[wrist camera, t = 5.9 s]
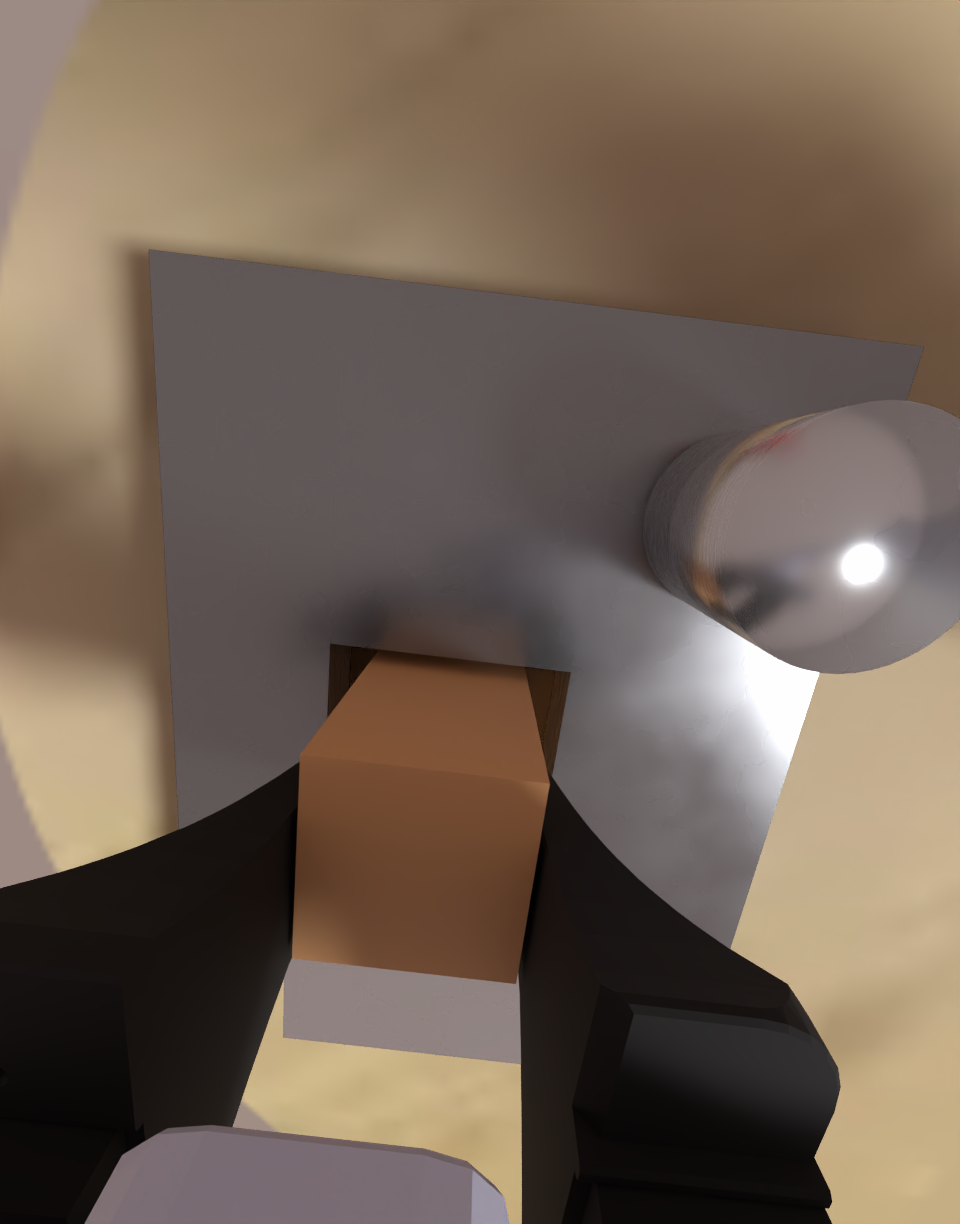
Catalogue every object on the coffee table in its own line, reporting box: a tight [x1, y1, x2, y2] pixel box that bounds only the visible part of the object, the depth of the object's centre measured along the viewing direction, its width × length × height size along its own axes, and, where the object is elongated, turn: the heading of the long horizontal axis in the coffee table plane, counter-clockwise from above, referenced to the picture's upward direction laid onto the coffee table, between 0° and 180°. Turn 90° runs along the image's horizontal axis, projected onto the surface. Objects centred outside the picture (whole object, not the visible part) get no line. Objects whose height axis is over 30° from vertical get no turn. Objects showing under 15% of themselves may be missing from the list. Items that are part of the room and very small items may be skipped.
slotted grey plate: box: [149, 250, 960, 1064], centre depth 11 cm, size 16×18×6 cm
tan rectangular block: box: [292, 649, 550, 984], centre depth 11 cm, size 4×4×6 cm
